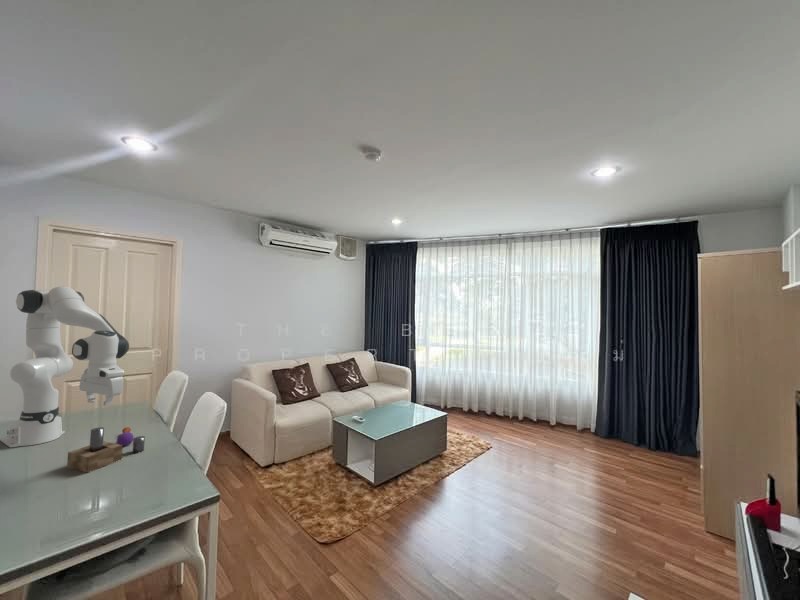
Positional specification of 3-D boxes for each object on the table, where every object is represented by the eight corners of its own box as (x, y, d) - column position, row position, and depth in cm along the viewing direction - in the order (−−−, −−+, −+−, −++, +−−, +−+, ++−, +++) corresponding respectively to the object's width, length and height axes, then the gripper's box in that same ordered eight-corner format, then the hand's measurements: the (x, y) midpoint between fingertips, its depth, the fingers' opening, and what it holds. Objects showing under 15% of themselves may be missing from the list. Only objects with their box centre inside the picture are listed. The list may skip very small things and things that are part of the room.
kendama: (135, 424, 167) (135, 433, 151) (132, 436, 166) (131, 447, 150) (120, 424, 163) (118, 434, 148) (117, 436, 162) (114, 447, 147)
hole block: (66, 467, 129) (68, 452, 129) (102, 455, 141) (102, 441, 141) (87, 473, 126) (88, 457, 126) (121, 459, 137) (122, 445, 137)
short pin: (130, 452, 144) (131, 438, 144) (139, 448, 148) (140, 435, 148) (136, 453, 143) (137, 440, 143) (146, 450, 147) (147, 436, 147)
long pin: (85, 464, 132) (88, 430, 132) (97, 460, 136) (99, 426, 136) (92, 466, 131) (95, 431, 131) (104, 462, 135) (106, 428, 135)
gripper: (75, 368, 134) (72, 402, 134) (110, 374, 128) (107, 409, 128) (93, 366, 140) (91, 398, 140) (127, 371, 135) (124, 405, 134)
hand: (99, 403), depth 134 cm, fingers open, 8 cm apart
